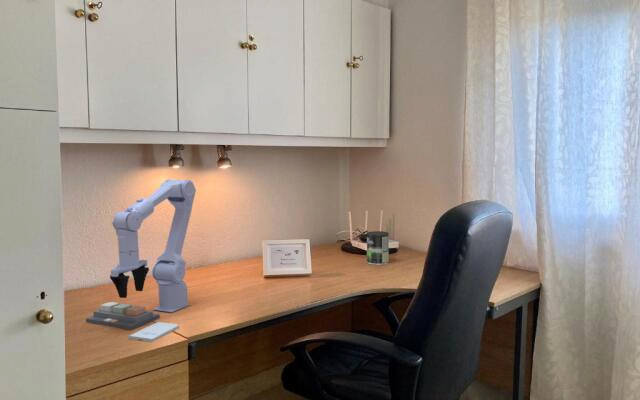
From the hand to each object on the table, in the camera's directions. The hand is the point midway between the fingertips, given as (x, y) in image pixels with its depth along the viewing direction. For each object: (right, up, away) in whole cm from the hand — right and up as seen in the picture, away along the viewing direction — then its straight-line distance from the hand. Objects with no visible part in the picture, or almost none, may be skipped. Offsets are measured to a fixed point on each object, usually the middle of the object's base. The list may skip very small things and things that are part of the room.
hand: (131, 294), depth 160 cm
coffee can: (+85, 0, +82) cm, 118 cm away
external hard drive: (+10, -11, -8) cm, 17 cm away
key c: (+1, -7, +2) cm, 7 cm away
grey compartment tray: (-4, -9, +4) cm, 11 cm away
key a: (-9, -6, +7) cm, 13 cm away
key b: (-4, -6, +4) cm, 9 cm away
